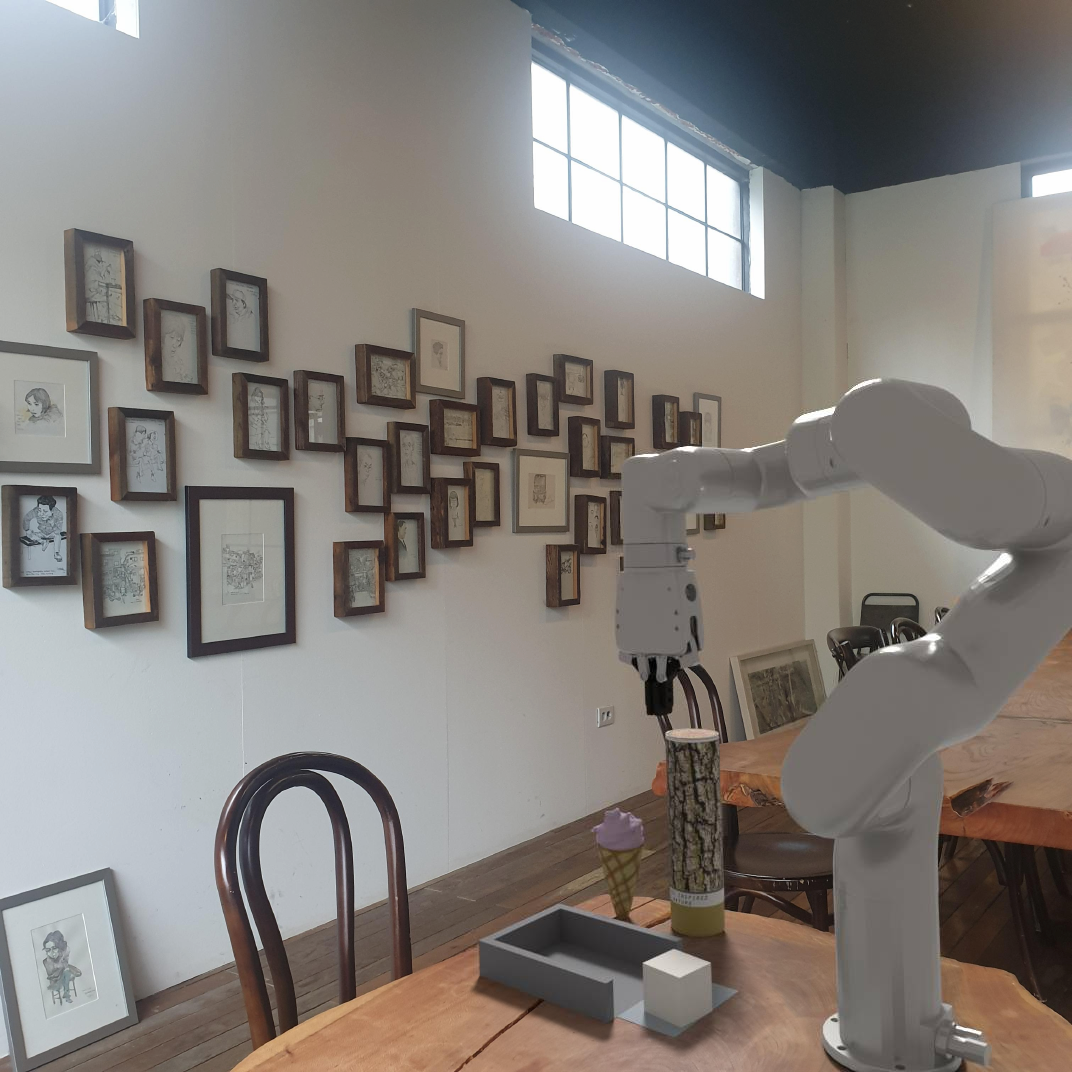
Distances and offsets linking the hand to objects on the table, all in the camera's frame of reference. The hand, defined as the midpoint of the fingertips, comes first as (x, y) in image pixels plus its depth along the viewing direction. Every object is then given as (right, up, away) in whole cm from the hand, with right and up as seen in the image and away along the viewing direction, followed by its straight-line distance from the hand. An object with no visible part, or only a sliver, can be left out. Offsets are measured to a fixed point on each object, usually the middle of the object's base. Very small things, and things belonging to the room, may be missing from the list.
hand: (659, 713), depth 115 cm
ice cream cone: (-3, -30, +13) cm, 33 cm away
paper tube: (+6, -29, +9) cm, 31 cm away
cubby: (-7, -29, -7) cm, 31 cm away
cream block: (0, -28, -14) cm, 32 cm away
